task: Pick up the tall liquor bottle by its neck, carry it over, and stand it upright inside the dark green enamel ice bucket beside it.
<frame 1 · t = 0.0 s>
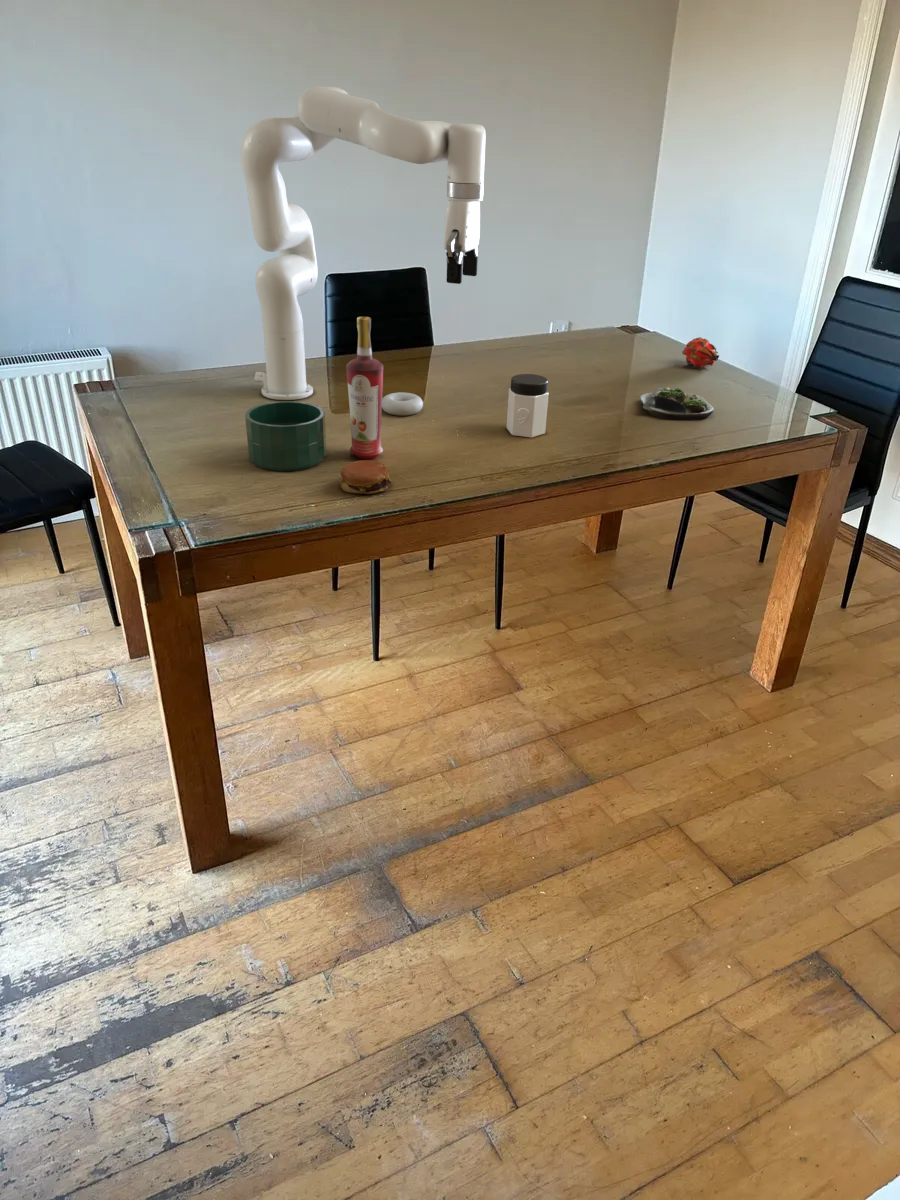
hand: (461, 279, 187), 31 cm above the table, tool pointing down, fingers open, 9 cm apart
dragon fruit: (699, 367, 249), on the table
donut: (401, 411, 208), on the table
burger: (365, 488, 168), on the table
liquor: (366, 456, 182), on the table
ice bucket: (288, 458, 179), on the table
salad plate: (674, 410, 214), on the table
jar: (525, 432, 198), on the table
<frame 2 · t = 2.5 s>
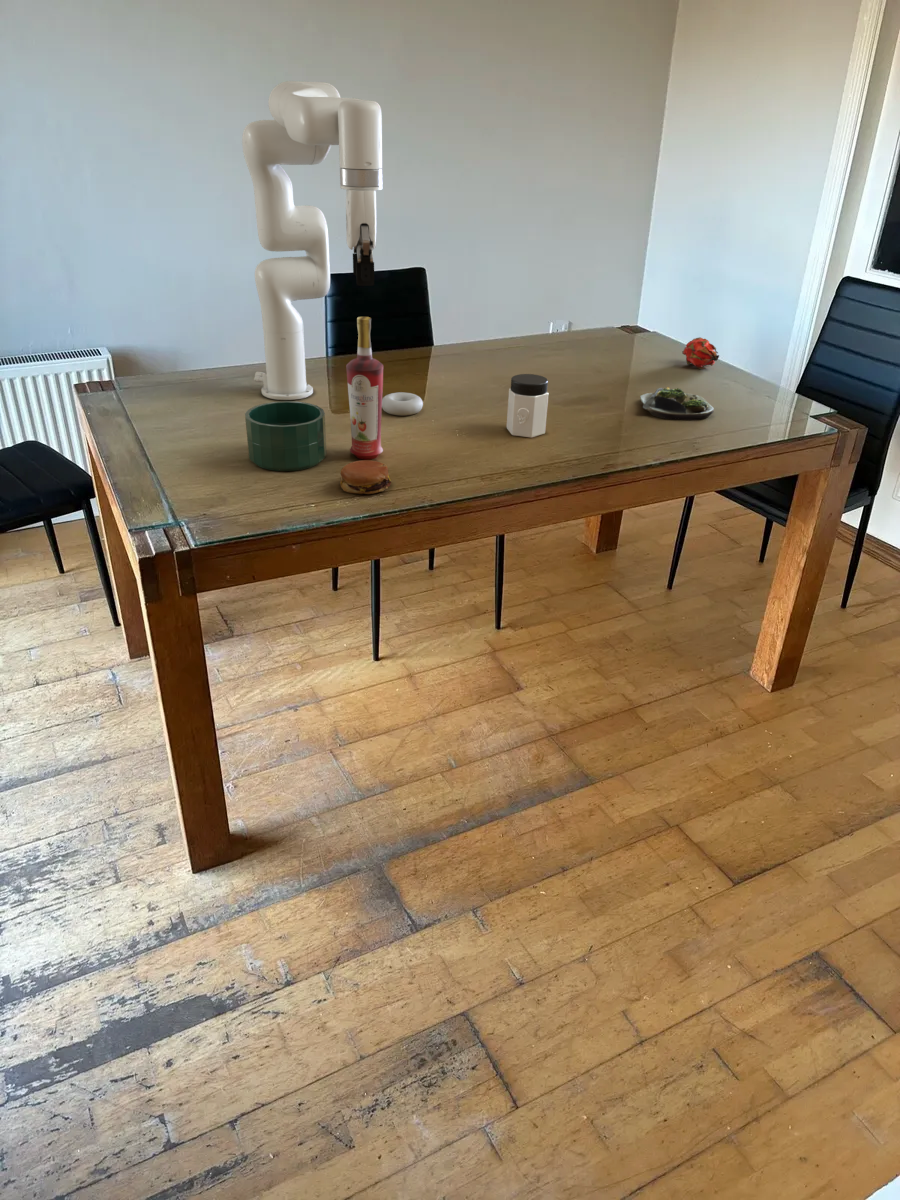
hand: (363, 280, 164), 35 cm above the table, tool pointing down, fingers open, 9 cm apart
nothing on the table moved.
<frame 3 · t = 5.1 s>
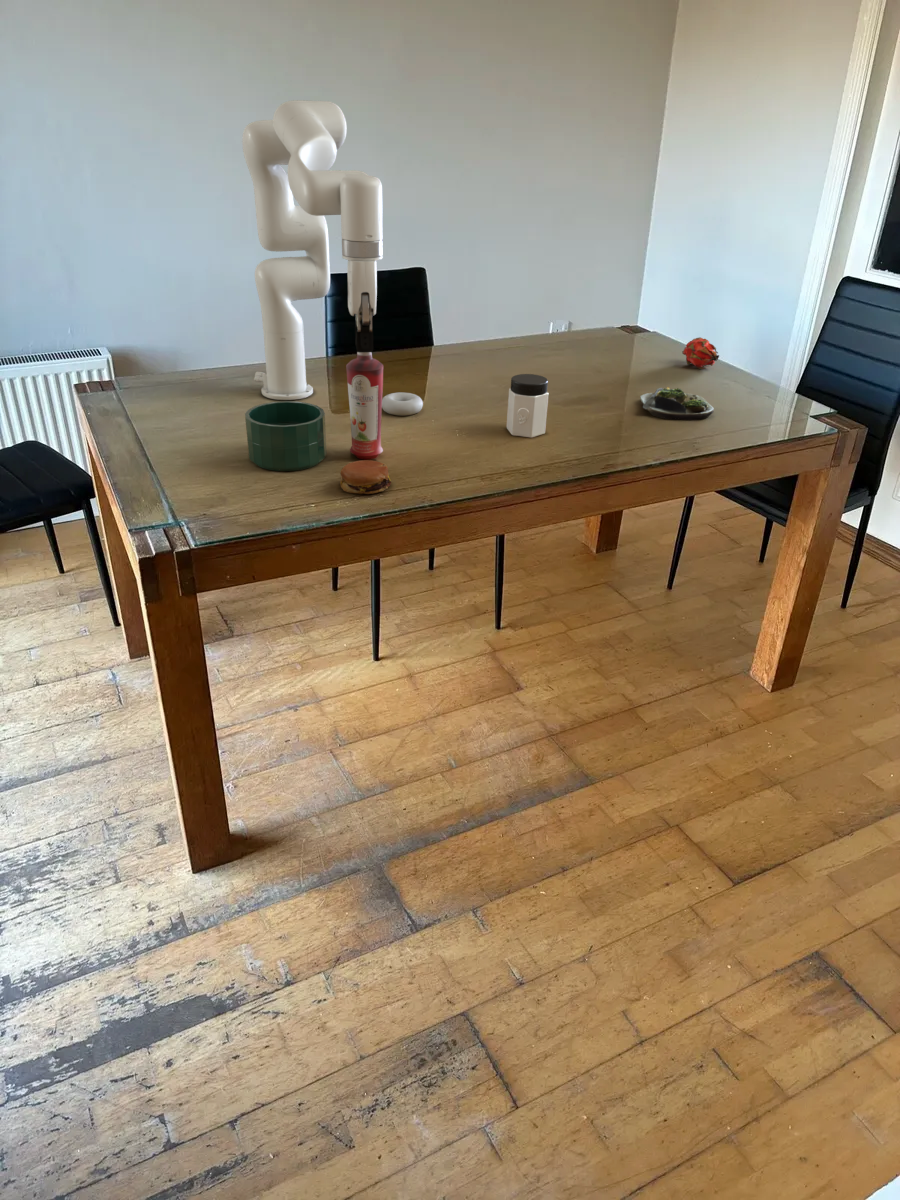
hand: (364, 348, 170), 22 cm above the table, tool pointing down, fingers closed on liquor, 2 cm apart
liquor: (366, 456, 182), on the table, touching gripper
everything else where it was.
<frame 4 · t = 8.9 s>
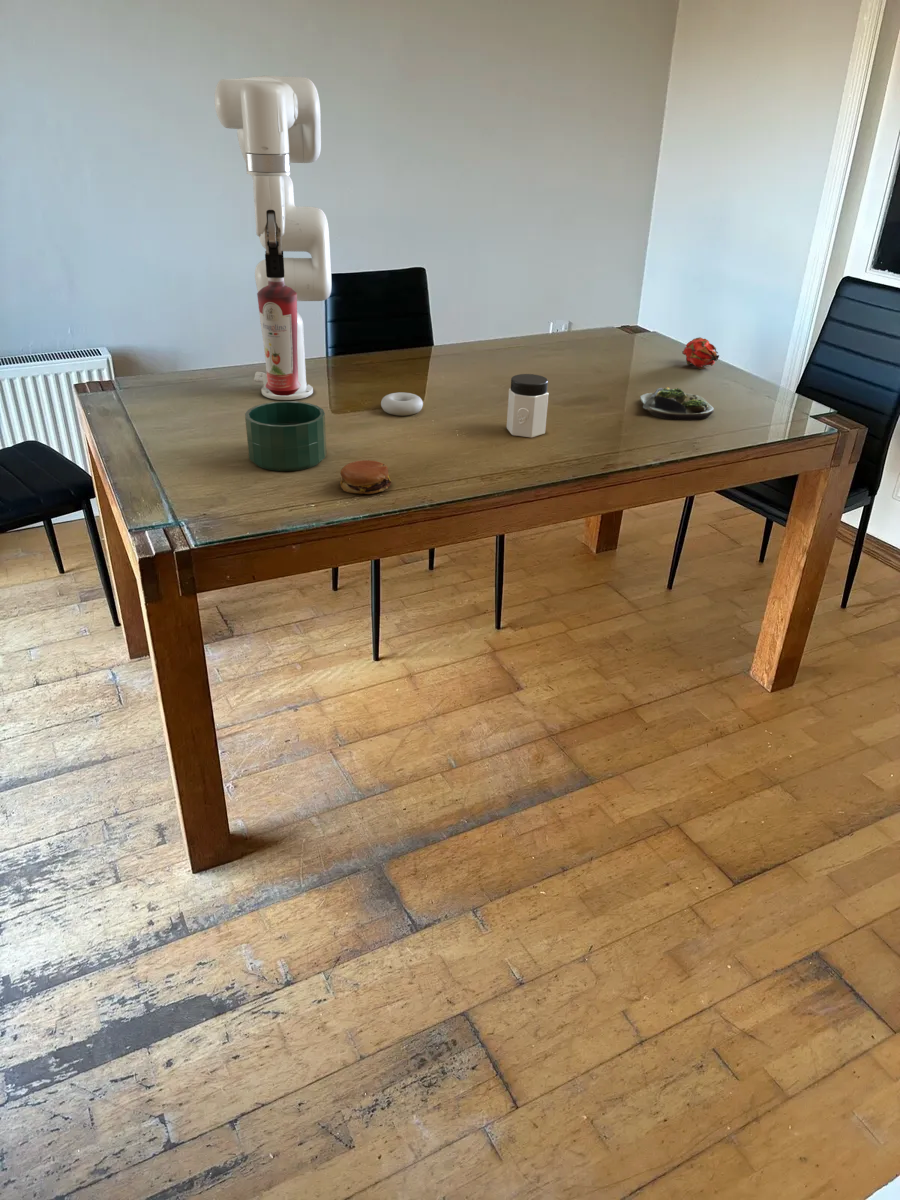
hand: (275, 274, 161), 36 cm above the table, tool pointing down, fingers closed on liquor, 2 cm apart
liquor: (283, 393, 173), point 14 cm above the table, touching gripper
everything else where it was.
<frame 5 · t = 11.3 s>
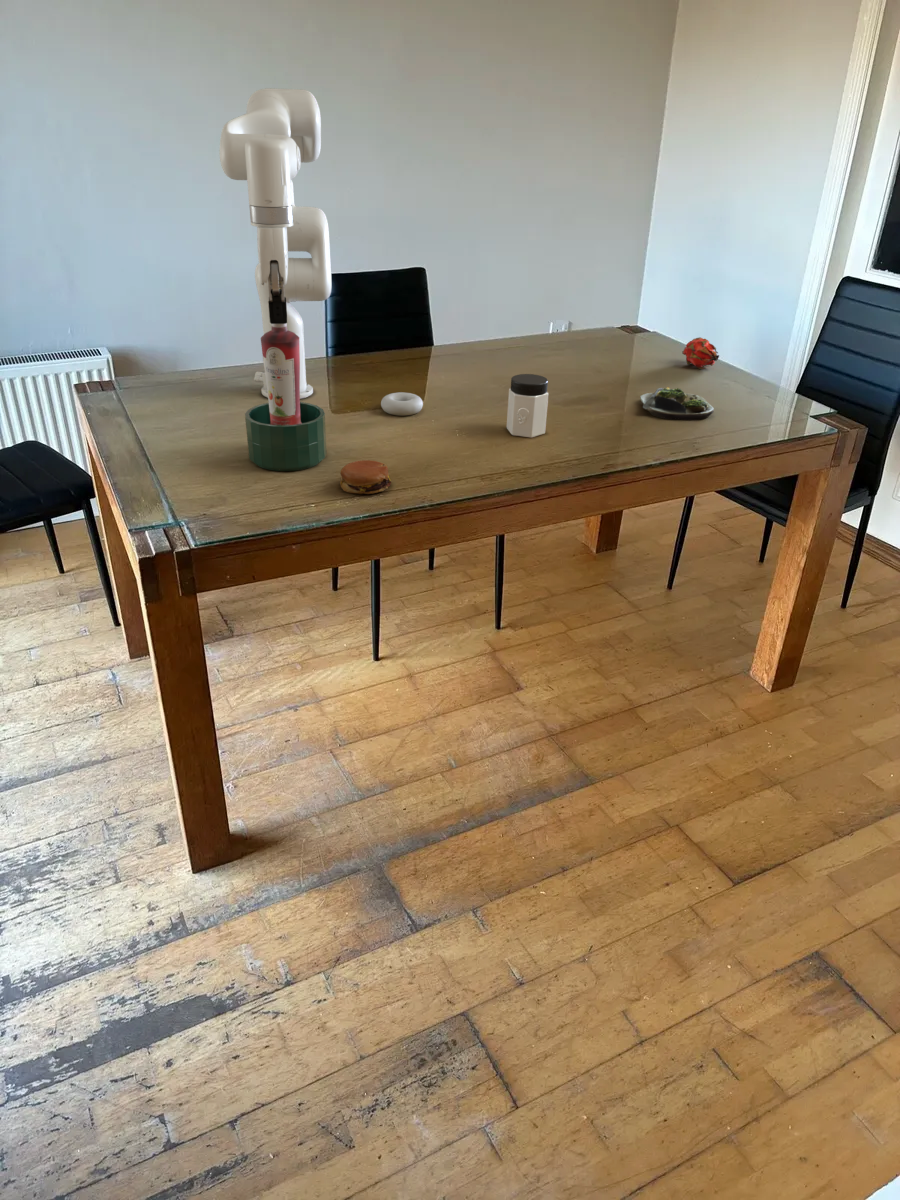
hand: (278, 320, 165), 28 cm above the table, tool pointing down, fingers closed on liquor, 2 cm apart
liquor: (286, 433, 177), point 5 cm above the table, touching gripper
everything else where it was.
when the fingers open (23 cm above the table, at t = 12.9 s): liquor stays where it is, resting on ice bucket.
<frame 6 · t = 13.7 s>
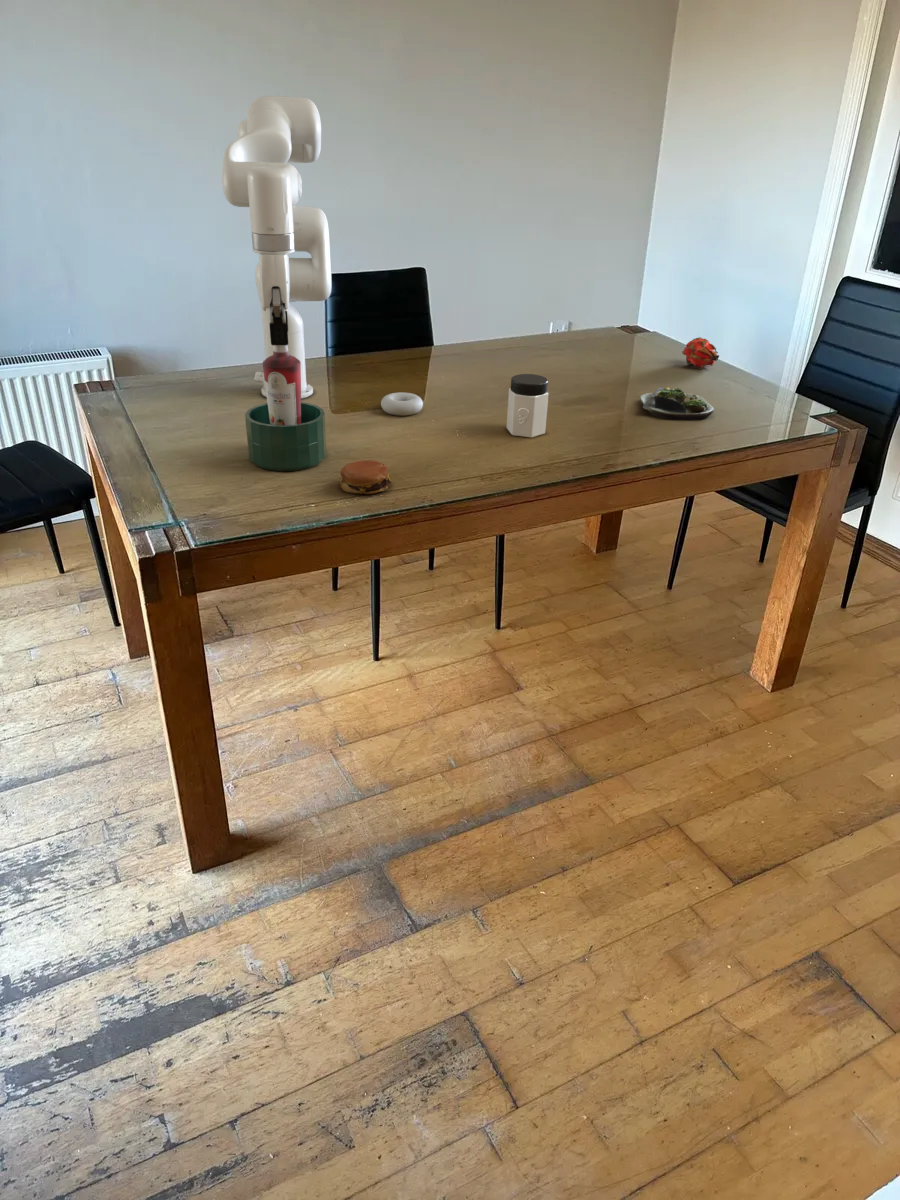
hand: (279, 338, 167), 24 cm above the table, tool pointing down, fingers open, 9 cm apart
liquor: (287, 455, 179), point 1 cm above the table, touching ice bucket
everything else where it was.
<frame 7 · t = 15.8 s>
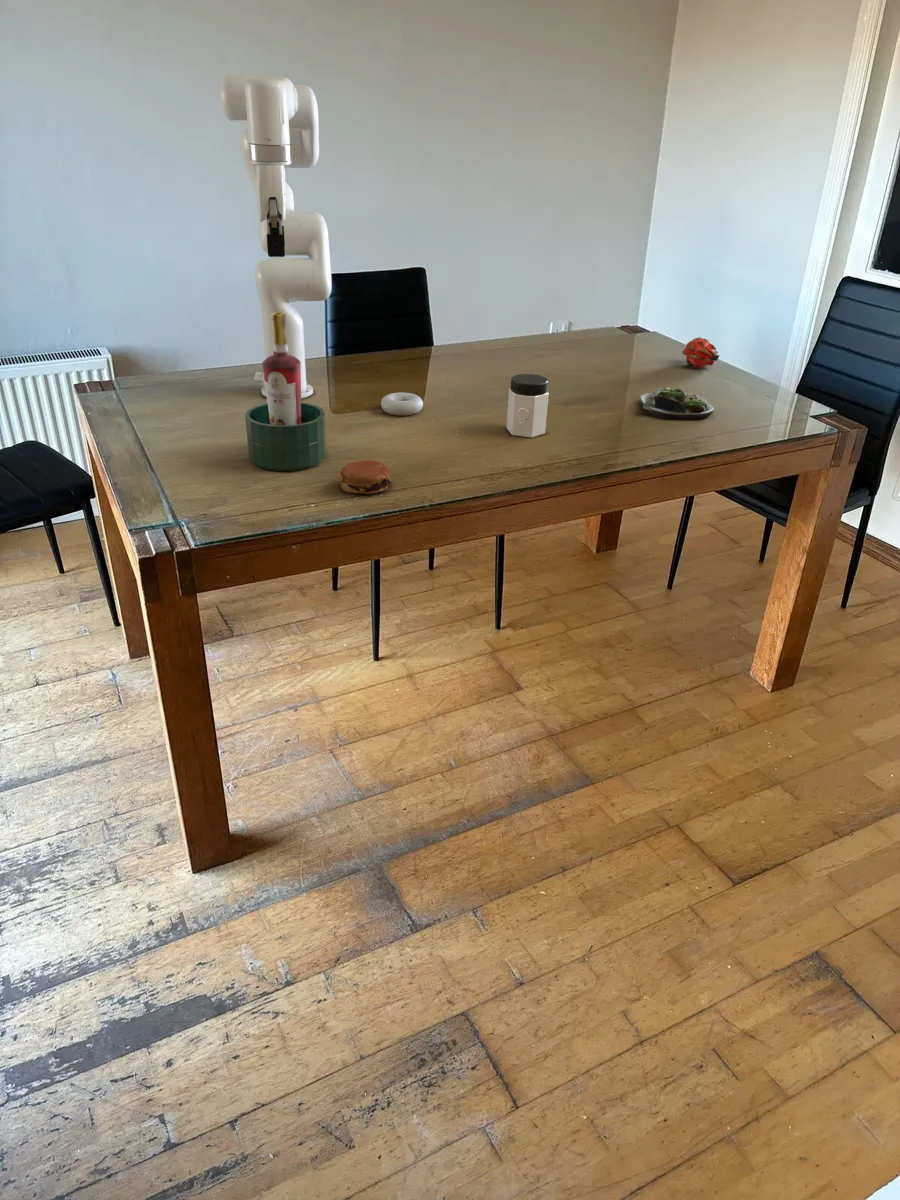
hand: (276, 251, 172), 38 cm above the table, tool pointing down, fingers open, 9 cm apart
nothing on the table moved.
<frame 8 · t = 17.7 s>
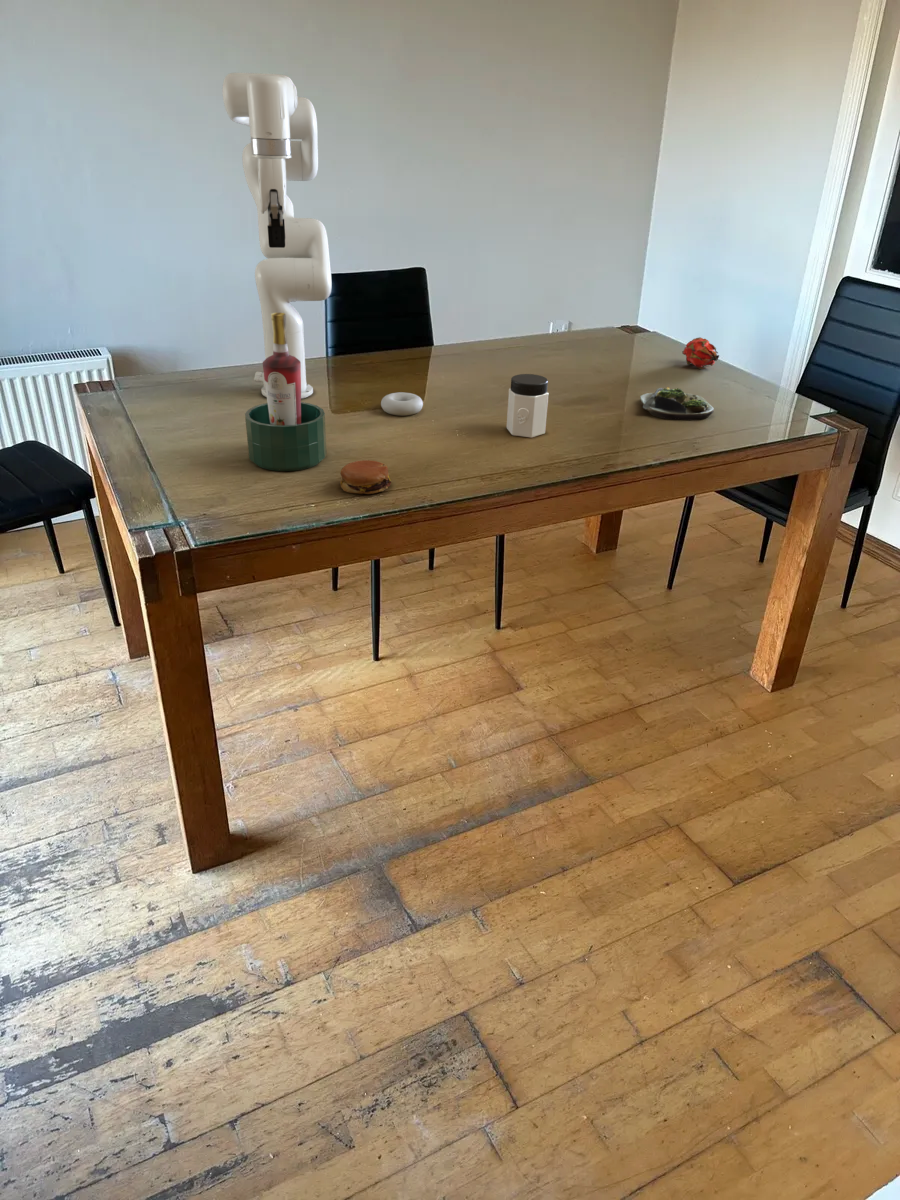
hand: (277, 243, 177), 38 cm above the table, tool pointing down, fingers open, 9 cm apart
nothing on the table moved.
at the end: liquor inside the target area in the ice bucket (0.1 cm from its centre), point 0.6 cm above the ice bucket's base; liquor tilted 0°; the gripper is holding nothing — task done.
